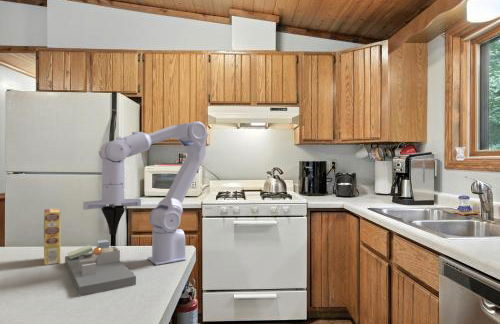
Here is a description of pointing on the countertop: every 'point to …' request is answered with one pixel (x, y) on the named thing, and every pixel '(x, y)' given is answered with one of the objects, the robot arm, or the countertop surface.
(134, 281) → the panel
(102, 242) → the block
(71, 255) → the block
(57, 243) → the candy box
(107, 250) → the button
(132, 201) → the robot arm
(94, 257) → the lever
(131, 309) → the countertop surface
